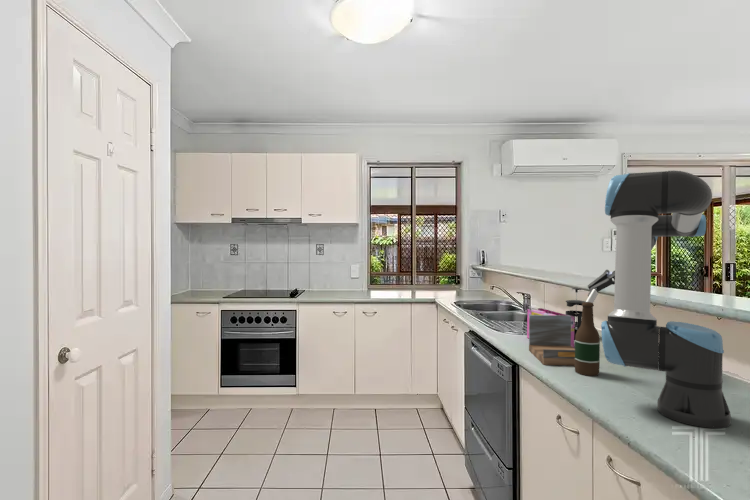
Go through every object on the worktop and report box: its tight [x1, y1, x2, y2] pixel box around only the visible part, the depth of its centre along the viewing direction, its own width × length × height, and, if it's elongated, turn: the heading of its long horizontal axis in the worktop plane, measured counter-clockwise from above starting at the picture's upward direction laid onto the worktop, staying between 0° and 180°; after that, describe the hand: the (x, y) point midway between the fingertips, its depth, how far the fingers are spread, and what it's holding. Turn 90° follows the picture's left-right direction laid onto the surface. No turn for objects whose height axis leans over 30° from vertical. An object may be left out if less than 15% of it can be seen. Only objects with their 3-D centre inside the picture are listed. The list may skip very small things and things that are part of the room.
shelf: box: [528, 315, 575, 367], centre depth 163 cm, size 20×16×14 cm
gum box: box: [526, 307, 576, 348], centre depth 186 cm, size 24×8×14 cm, turn 13°
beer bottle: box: [574, 302, 601, 377], centre depth 144 cm, size 8×8×24 cm
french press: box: [565, 287, 586, 341], centre depth 195 cm, size 12×9×23 cm
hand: (605, 307), depth 149 cm, fingers open, 13 cm apart
